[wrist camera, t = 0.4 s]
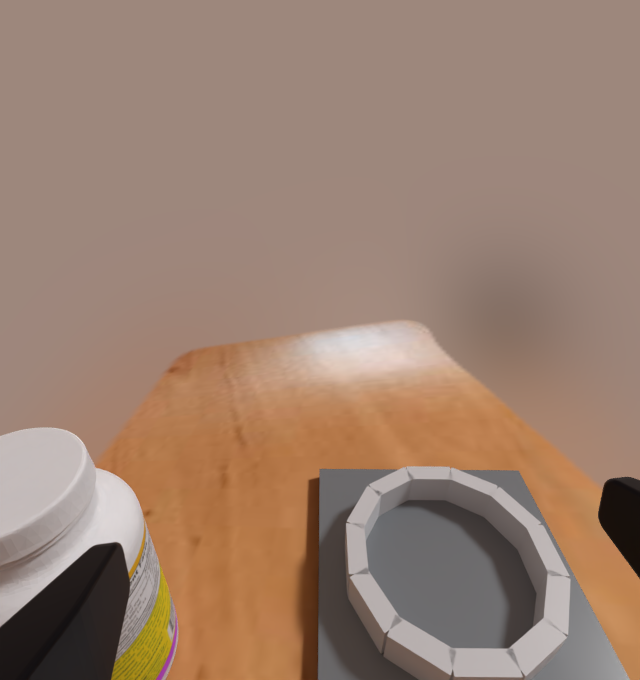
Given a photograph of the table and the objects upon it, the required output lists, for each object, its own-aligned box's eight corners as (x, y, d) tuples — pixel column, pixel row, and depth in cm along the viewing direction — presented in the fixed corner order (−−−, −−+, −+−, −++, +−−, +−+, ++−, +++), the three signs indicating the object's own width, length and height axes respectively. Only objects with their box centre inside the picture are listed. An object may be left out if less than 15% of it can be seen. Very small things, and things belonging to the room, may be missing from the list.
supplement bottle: (-9, 712, 17) (-205, 532, 11) (109, 570, 23) (25, 391, 16) (109, 793, 15) (-43, 632, 9) (208, 616, 21) (159, 433, 14)
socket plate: (656, 752, 16) (688, 727, 15) (317, 749, 16) (317, 724, 15) (515, 478, 28) (525, 450, 27) (319, 476, 29) (319, 448, 27)
